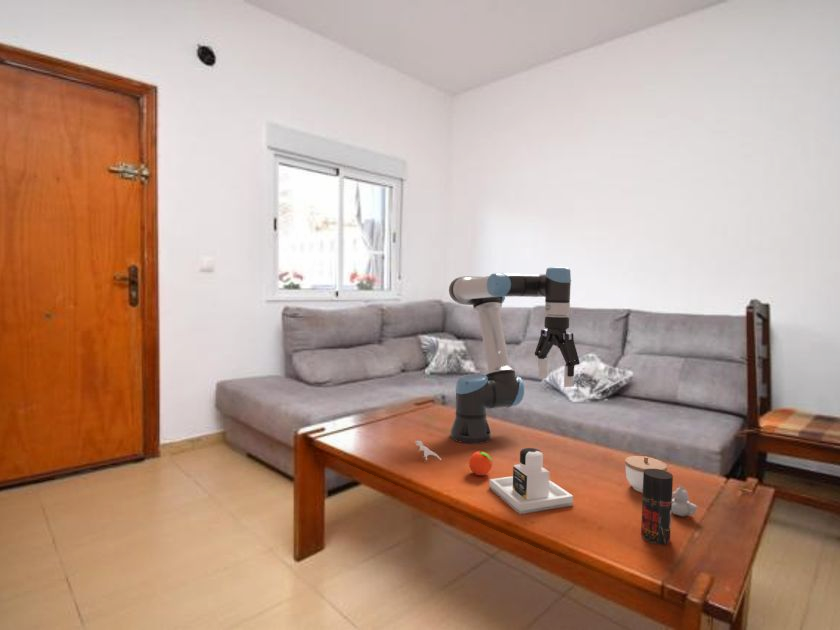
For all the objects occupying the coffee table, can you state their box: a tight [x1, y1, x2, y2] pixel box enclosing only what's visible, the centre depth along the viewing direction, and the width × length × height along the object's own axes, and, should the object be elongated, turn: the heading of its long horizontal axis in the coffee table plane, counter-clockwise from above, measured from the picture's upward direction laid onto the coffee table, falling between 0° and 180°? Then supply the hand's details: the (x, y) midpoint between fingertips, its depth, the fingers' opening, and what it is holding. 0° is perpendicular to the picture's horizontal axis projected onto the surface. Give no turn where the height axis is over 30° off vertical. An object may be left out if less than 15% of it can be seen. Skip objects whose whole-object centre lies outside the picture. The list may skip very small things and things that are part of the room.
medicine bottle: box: [512, 447, 550, 500], centre depth 125 cm, size 7×7×12 cm
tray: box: [489, 475, 574, 515], centre depth 126 cm, size 16×16×2 cm
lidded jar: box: [624, 455, 668, 494], centre depth 131 cm, size 11×11×9 cm
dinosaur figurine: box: [414, 440, 442, 461], centre depth 152 cm, size 15×12×6 cm
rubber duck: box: [671, 484, 698, 517], centre depth 116 cm, size 5×7×8 cm
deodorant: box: [640, 469, 674, 546], centre depth 105 cm, size 6×6×15 cm
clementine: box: [468, 450, 493, 476], centre depth 140 cm, size 8×7×7 cm
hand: (554, 382), depth 148 cm, fingers open, 13 cm apart
